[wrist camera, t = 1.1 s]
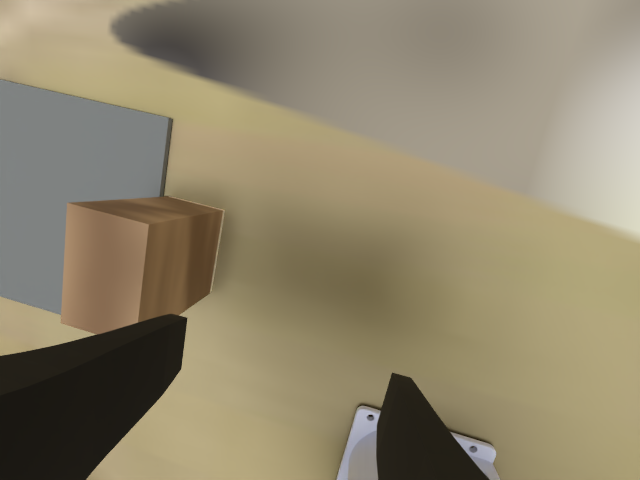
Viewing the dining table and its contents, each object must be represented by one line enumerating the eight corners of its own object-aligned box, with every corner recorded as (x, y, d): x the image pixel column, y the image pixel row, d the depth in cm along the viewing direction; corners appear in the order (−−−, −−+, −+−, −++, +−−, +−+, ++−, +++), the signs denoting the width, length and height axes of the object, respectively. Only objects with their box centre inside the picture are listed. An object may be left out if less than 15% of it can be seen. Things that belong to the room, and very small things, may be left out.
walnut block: (225, 210, 21) (148, 224, 13) (211, 291, 22) (135, 346, 15) (170, 196, 21) (67, 202, 14) (160, 277, 22) (60, 323, 15)
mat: (172, 119, 20) (168, 117, 20) (146, 337, 23) (142, 339, 23) (-13, 77, 21) (-20, 74, 21) (-13, 288, 25) (-19, 290, 24)
